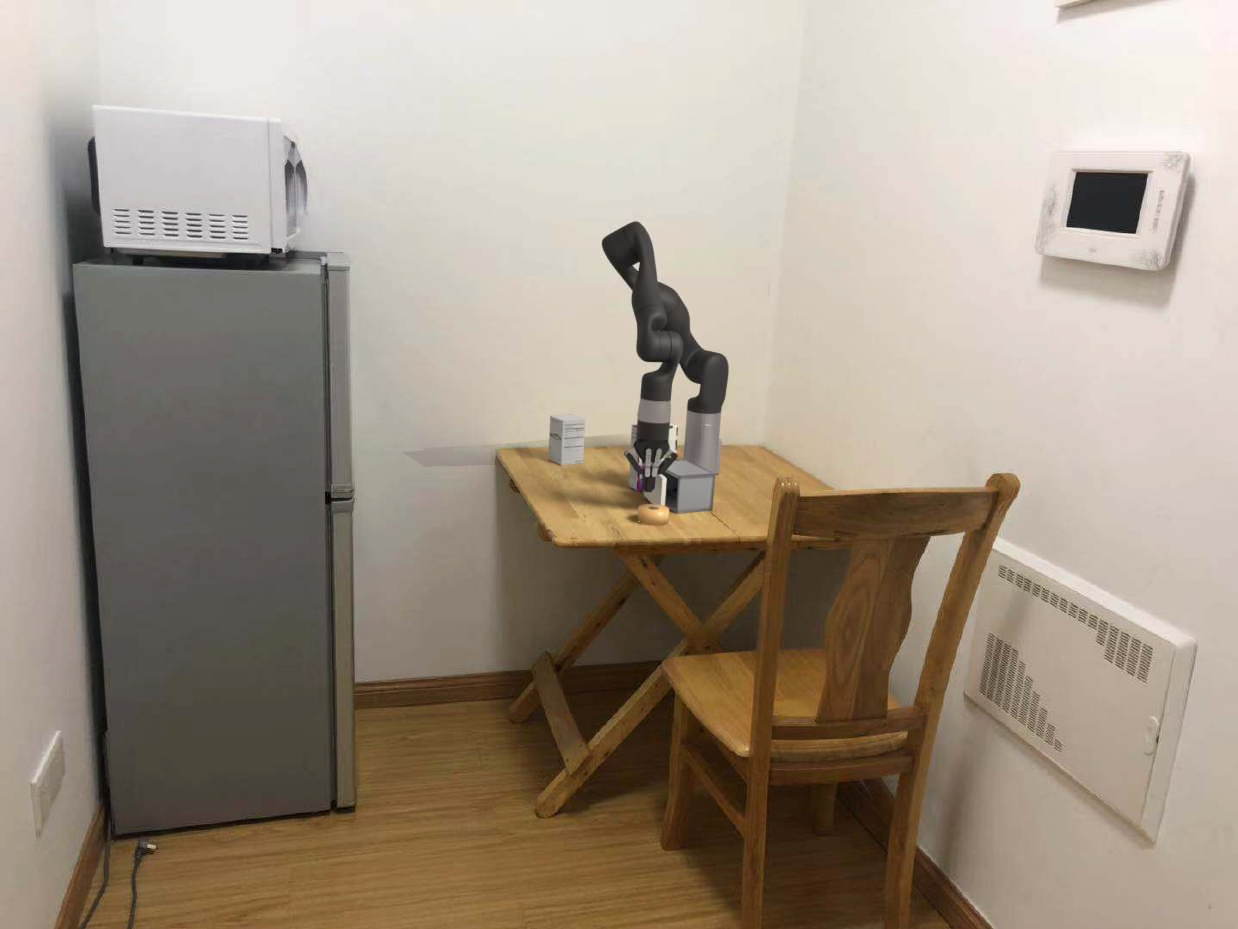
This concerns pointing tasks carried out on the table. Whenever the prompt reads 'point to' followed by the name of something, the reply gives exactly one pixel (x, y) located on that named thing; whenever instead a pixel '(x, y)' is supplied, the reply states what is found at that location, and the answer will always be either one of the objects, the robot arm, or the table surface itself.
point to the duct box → (689, 487)
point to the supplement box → (566, 439)
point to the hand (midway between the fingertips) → (648, 491)
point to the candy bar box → (634, 477)
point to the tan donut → (653, 514)
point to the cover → (657, 491)
